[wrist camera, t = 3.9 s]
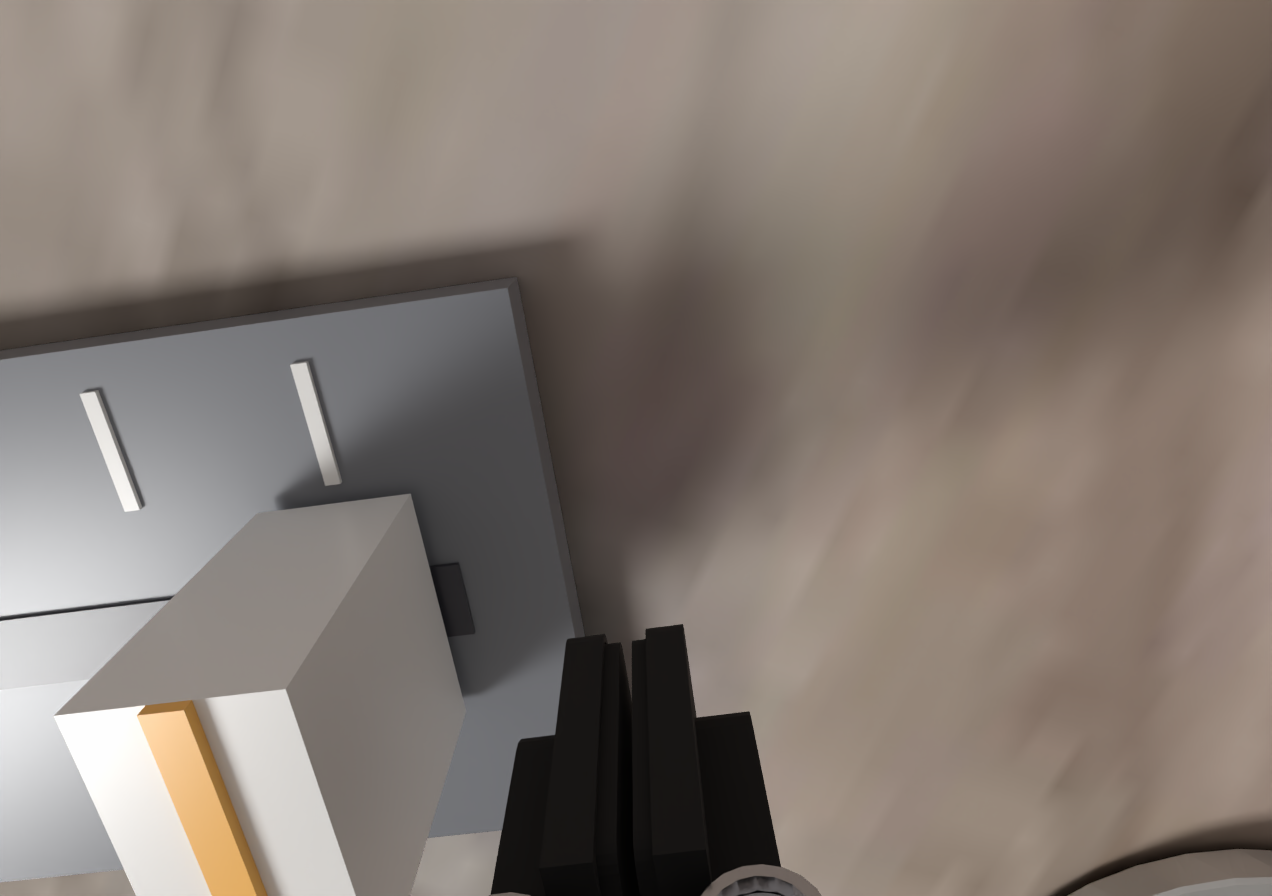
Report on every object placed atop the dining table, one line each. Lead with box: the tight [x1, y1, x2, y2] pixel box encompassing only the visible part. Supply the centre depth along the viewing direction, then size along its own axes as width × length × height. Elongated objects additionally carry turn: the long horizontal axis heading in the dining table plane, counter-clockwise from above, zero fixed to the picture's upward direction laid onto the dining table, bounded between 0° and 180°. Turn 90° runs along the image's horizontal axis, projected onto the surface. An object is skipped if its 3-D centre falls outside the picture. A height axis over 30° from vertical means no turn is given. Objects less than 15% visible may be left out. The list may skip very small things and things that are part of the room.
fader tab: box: [54, 494, 466, 896], centre depth 14 cm, size 3×5×6 cm, turn 8°
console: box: [0, 277, 585, 882], centre depth 17 cm, size 22×12×4 cm, turn 98°
